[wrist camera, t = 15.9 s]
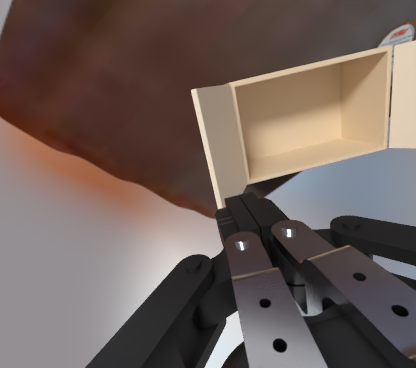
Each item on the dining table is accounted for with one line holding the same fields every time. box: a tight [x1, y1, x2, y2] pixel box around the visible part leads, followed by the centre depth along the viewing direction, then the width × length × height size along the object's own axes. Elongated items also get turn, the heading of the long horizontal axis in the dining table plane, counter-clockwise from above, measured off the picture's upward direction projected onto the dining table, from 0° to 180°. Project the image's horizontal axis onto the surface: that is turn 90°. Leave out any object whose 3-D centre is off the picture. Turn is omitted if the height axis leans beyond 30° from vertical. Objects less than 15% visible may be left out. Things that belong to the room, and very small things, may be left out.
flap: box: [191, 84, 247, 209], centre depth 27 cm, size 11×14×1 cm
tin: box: [377, 20, 416, 117], centre depth 37 cm, size 15×3×8 cm, turn 165°
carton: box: [225, 45, 393, 185], centre depth 36 cm, size 22×14×10 cm, turn 103°
